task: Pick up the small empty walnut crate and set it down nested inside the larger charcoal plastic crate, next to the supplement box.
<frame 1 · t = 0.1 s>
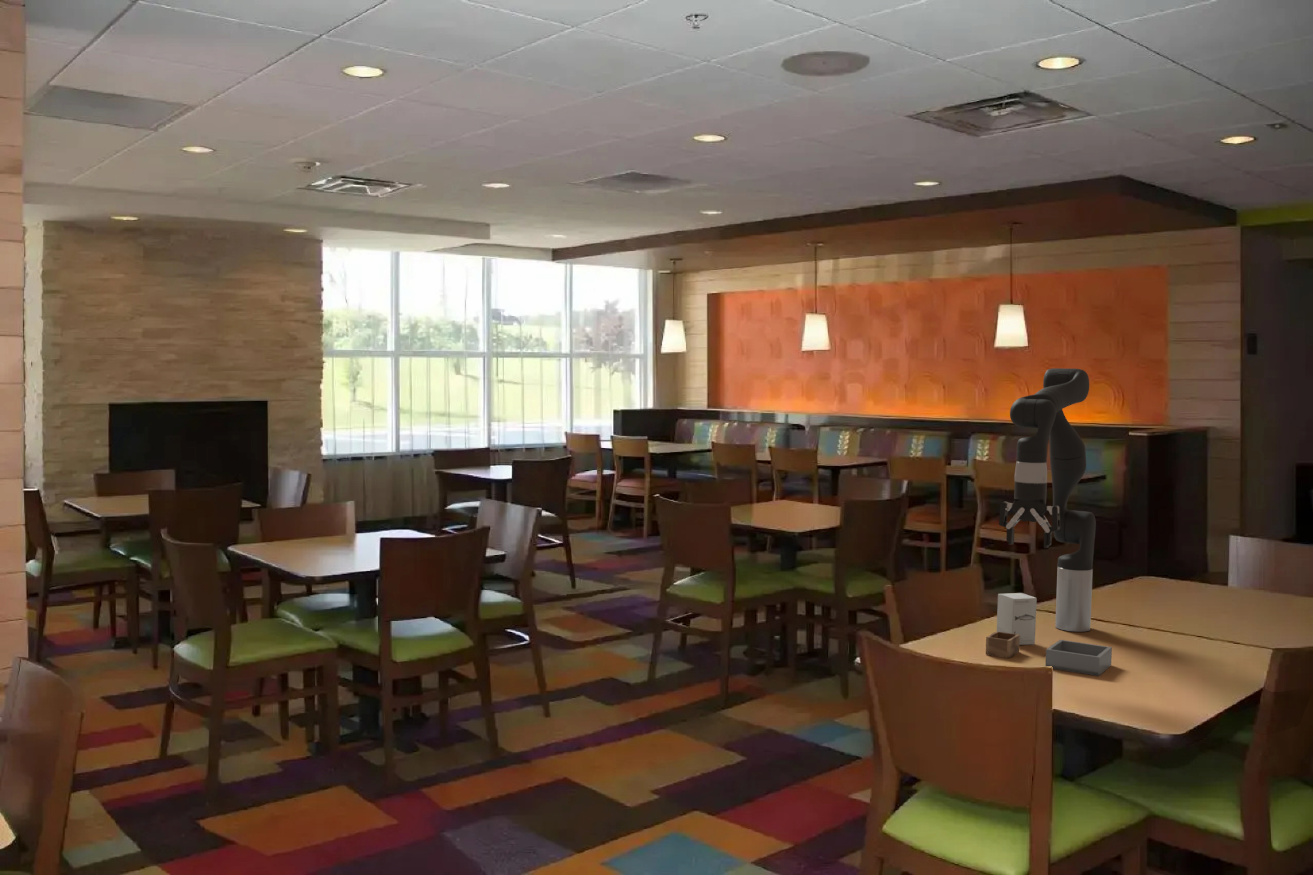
hand: (1028, 545, 274), 29 cm above the table, tool pointing down, fingers open, 8 cm apart
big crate: (1078, 666, 272), on the table
small crate: (1002, 653, 284), on the table
supplement box: (1015, 643, 296), on the table
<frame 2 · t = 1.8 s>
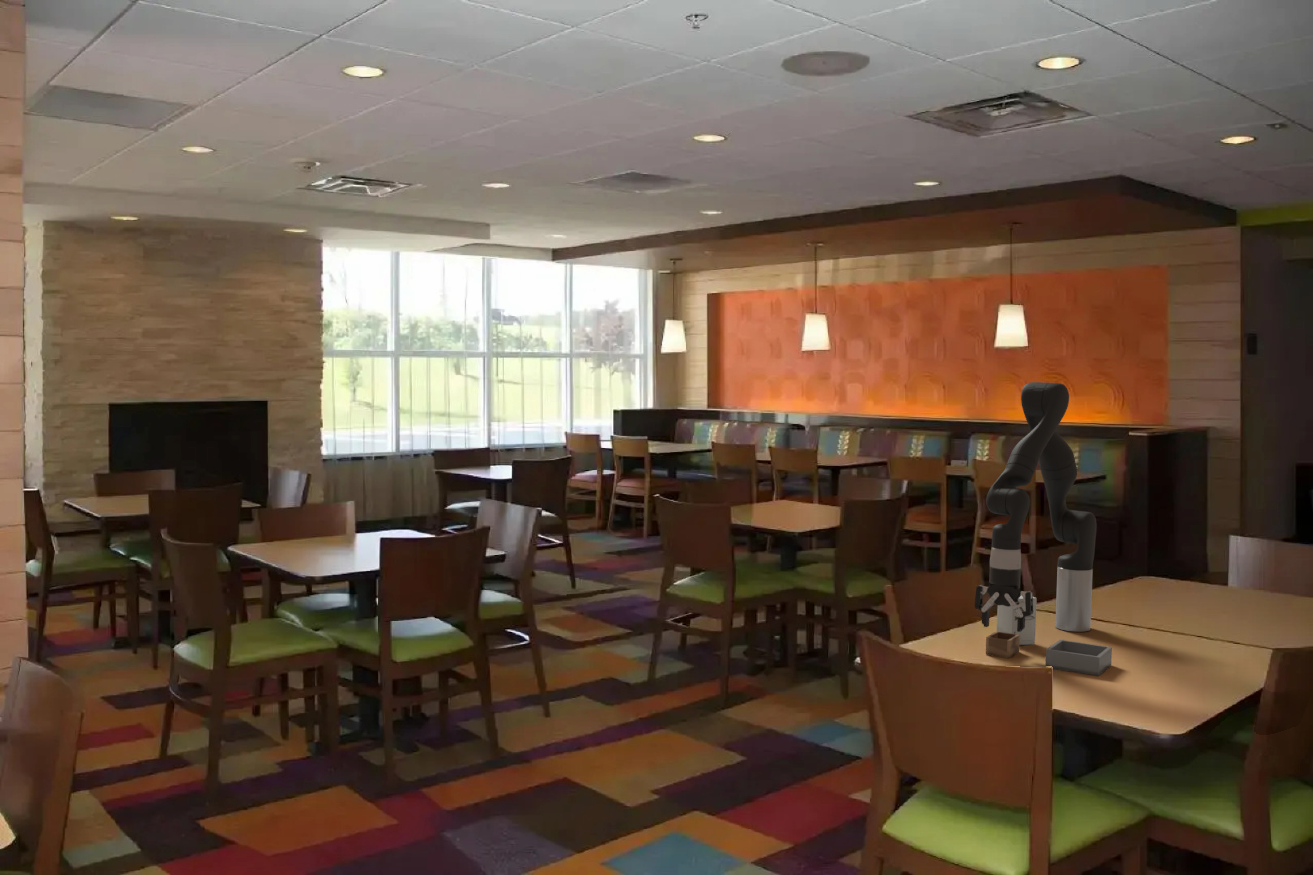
hand: (1002, 628, 283), 6 cm above the table, tool pointing down, fingers open, 8 cm apart
nothing on the table moved.
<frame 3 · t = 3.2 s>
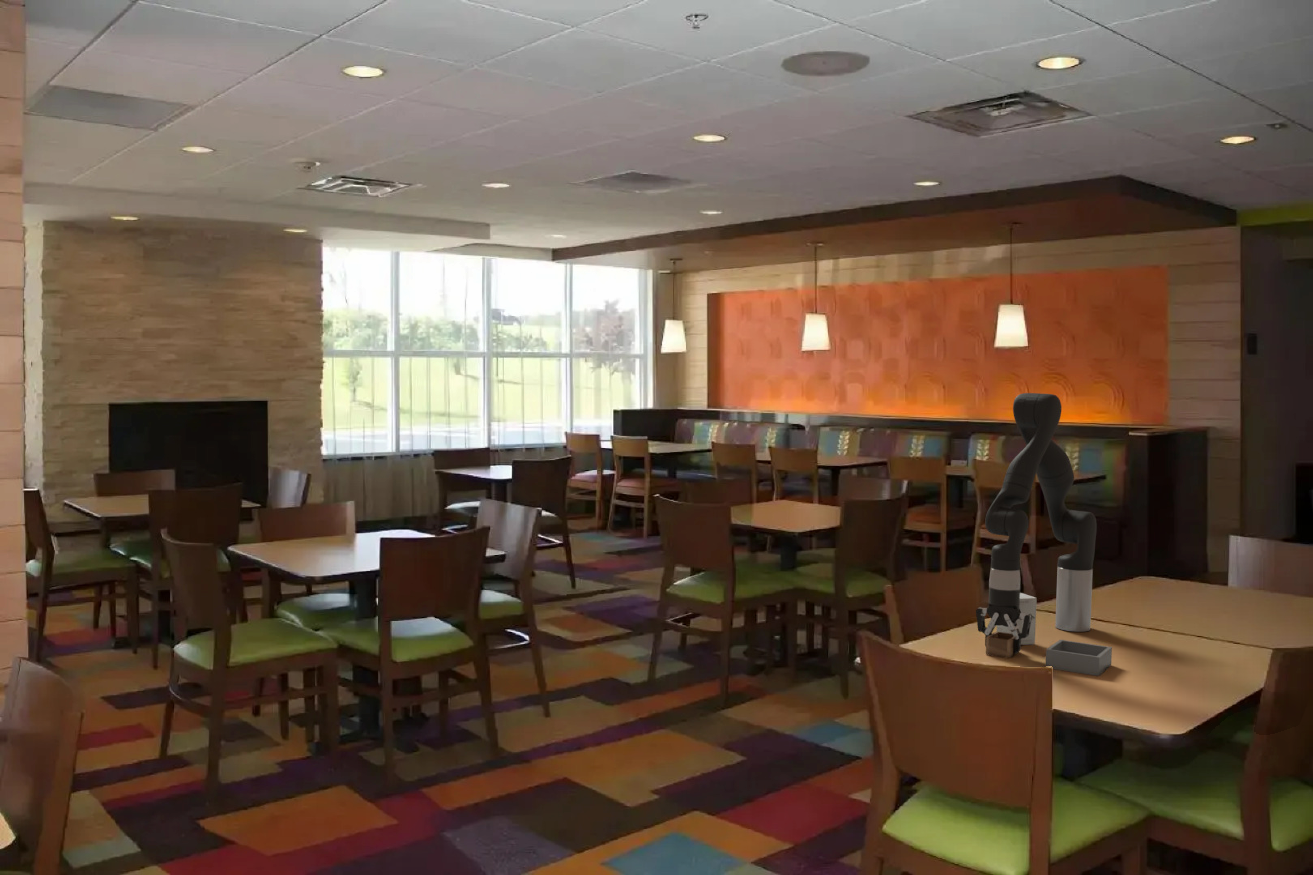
hand: (1002, 651, 284), 1 cm above the table, tool pointing down, fingers closed on small crate, 6 cm apart
small crate: (1002, 653, 284), on the table, touching gripper
everything else where it was.
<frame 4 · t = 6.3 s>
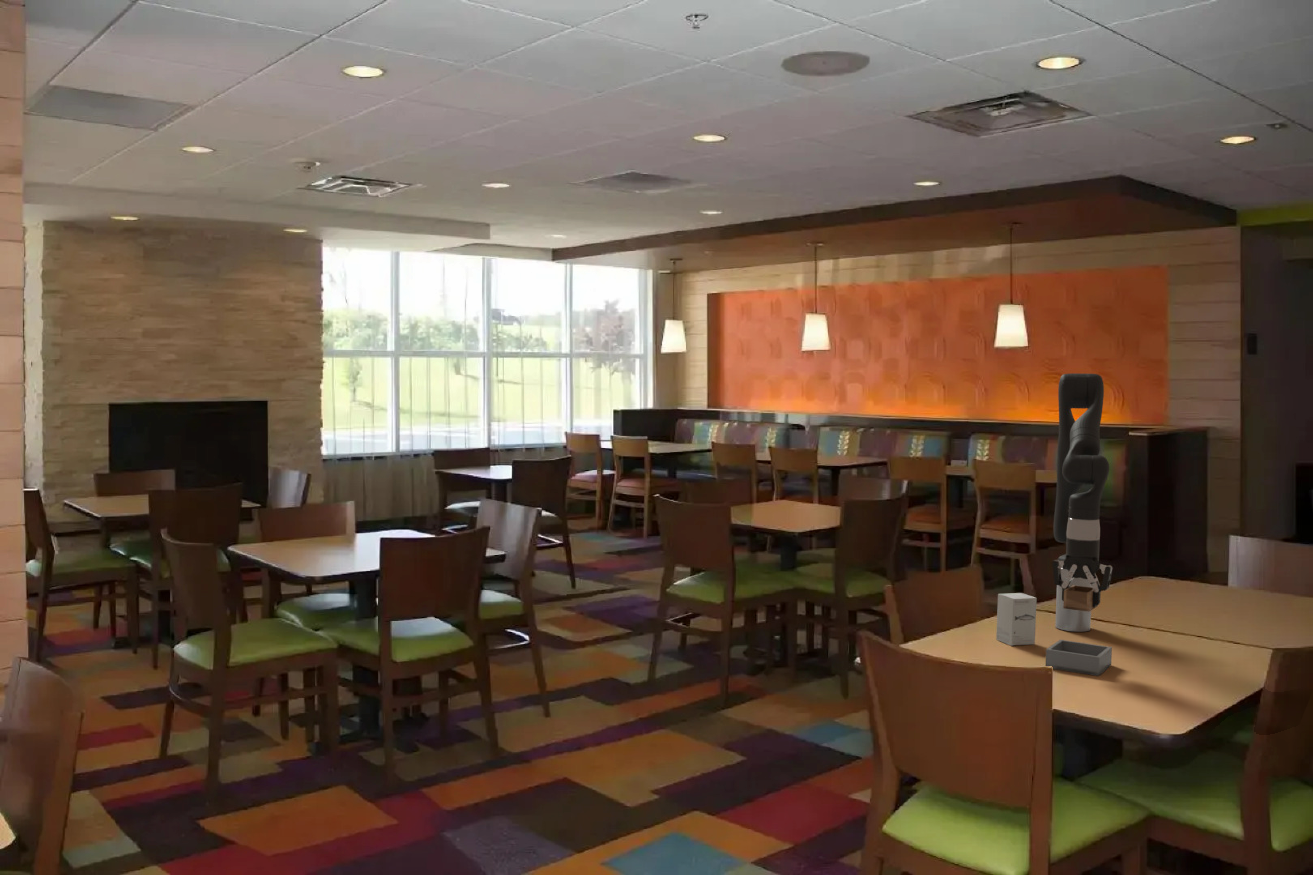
hand: (1080, 604, 271), 15 cm above the table, tool pointing down, fingers closed on small crate, 6 cm apart
small crate: (1080, 607, 271), point 15 cm above the table, touching gripper
everything else where it was.
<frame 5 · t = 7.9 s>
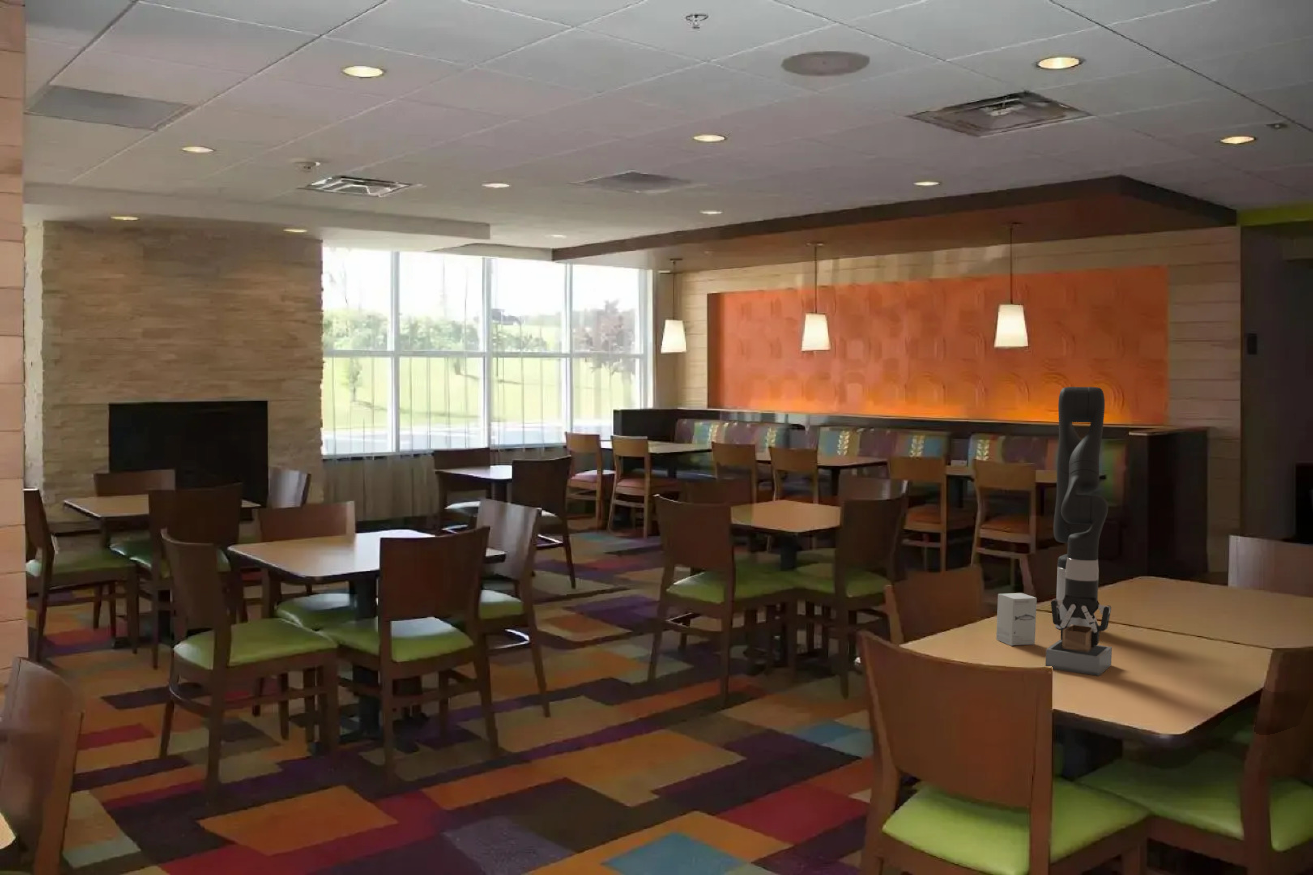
hand: (1079, 644, 272), 5 cm above the table, tool pointing down, fingers closed on small crate, 6 cm apart
small crate: (1079, 647, 272), point 5 cm above the table, touching gripper
everything else where it was.
when the fingers open (3 cm above the table, at t = 9.4 s): small crate drops 2 cm, resting on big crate.
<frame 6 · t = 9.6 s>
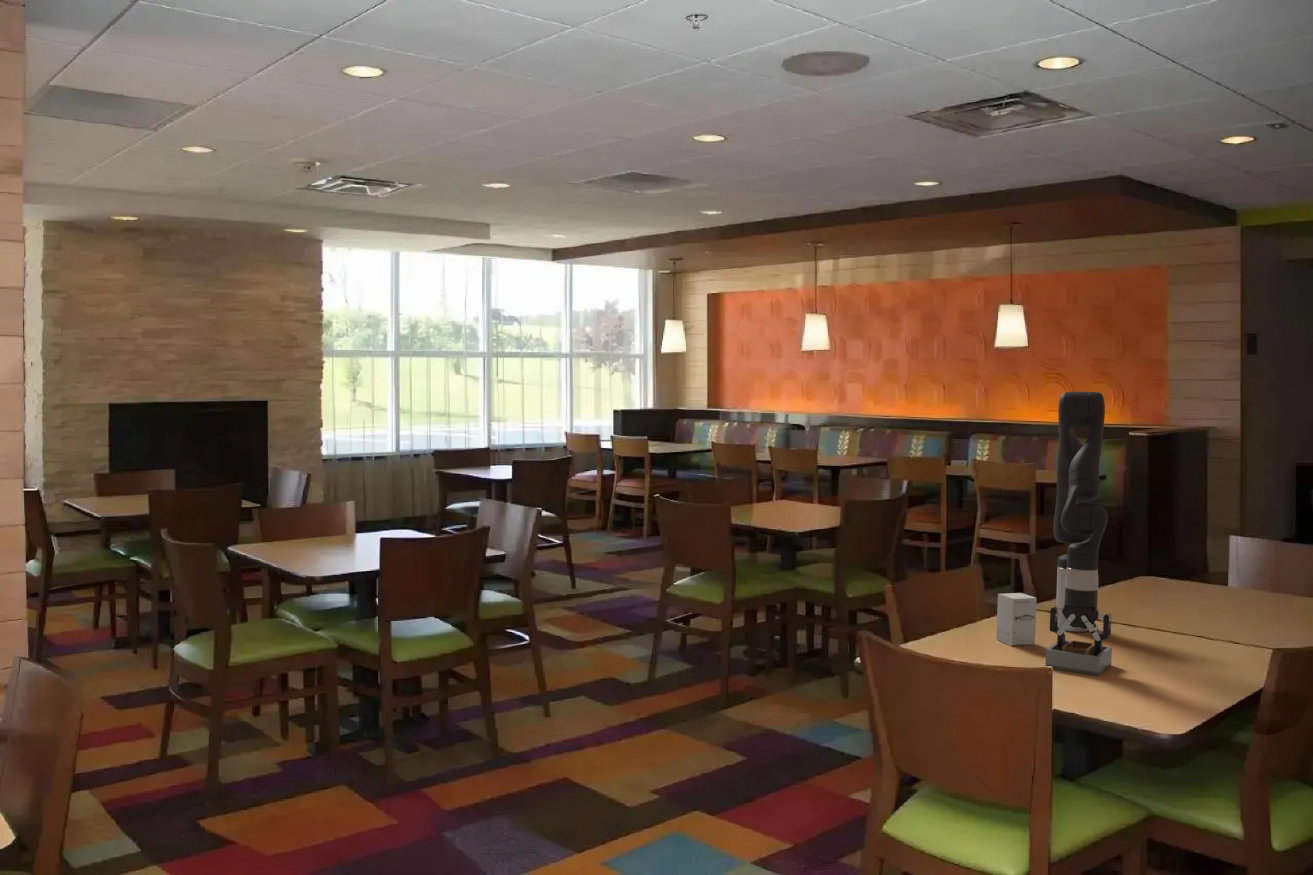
hand: (1079, 652, 272), 3 cm above the table, tool pointing down, fingers open, 7 cm apart
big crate: (1078, 666, 272), on the table, touching small crate
small crate: (1078, 663, 272), point 1 cm above the table, touching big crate
everything else where it was.
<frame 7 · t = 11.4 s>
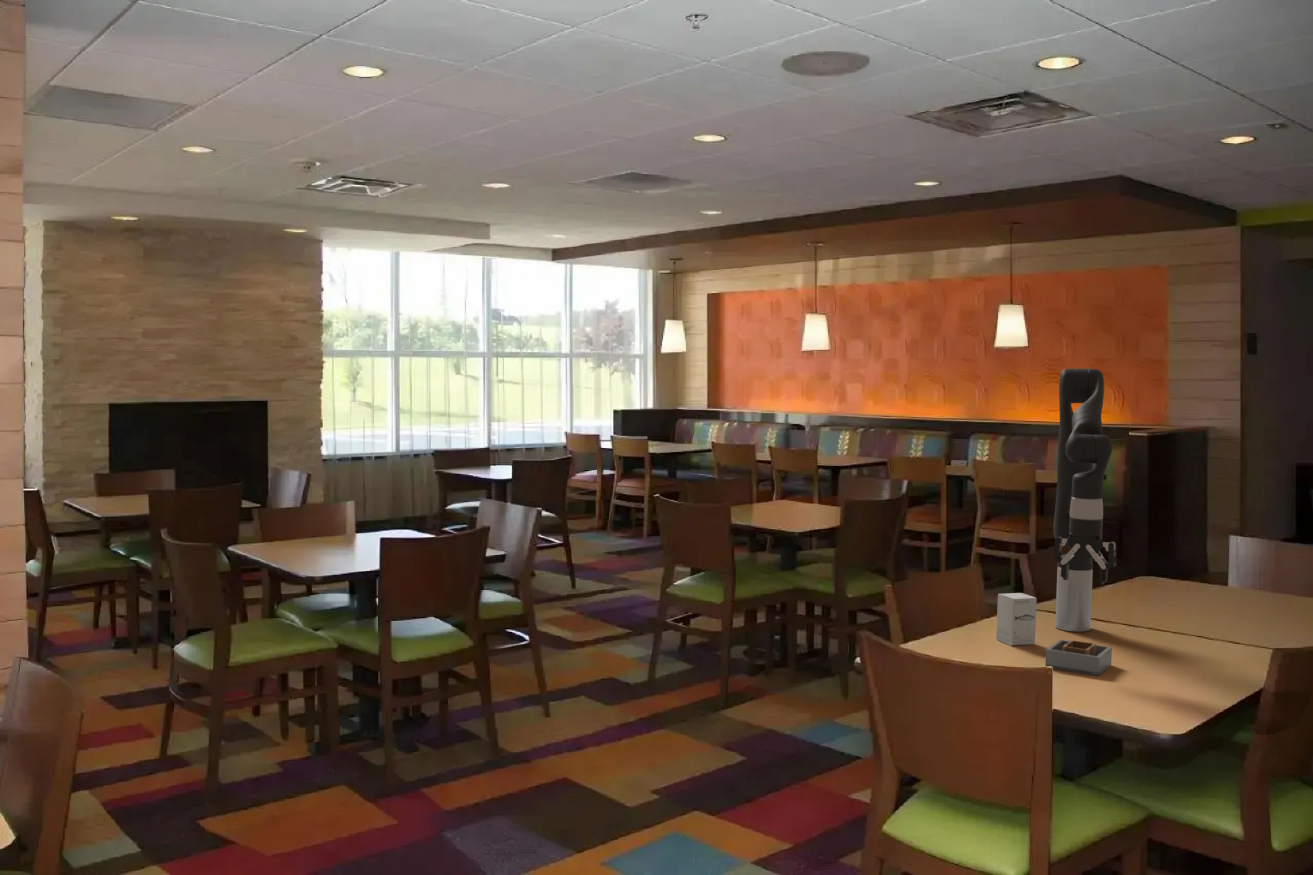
hand: (1083, 581, 272), 21 cm above the table, tool pointing down, fingers open, 8 cm apart
nothing on the table moved.
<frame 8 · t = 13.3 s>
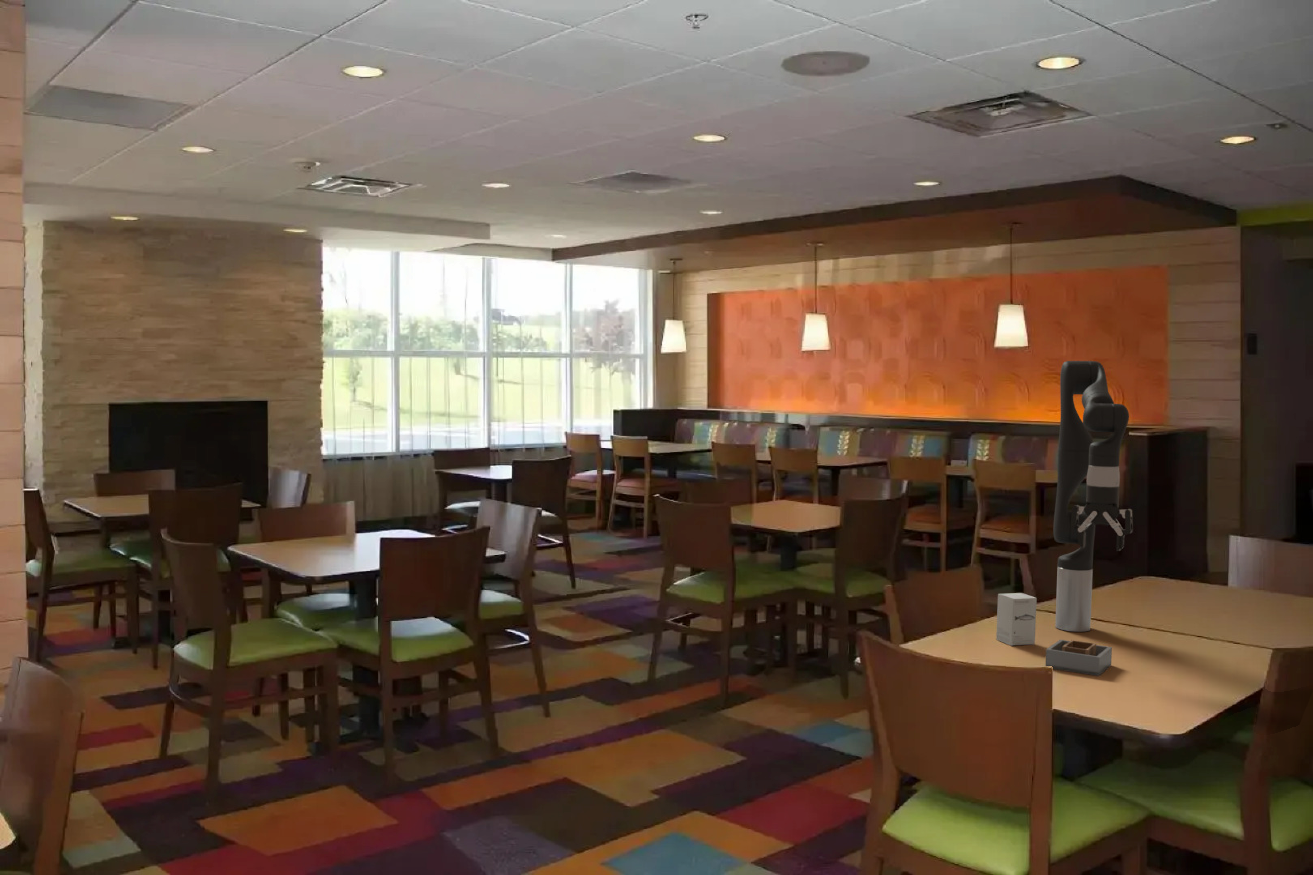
hand: (1100, 548, 277), 28 cm above the table, tool pointing down, fingers open, 8 cm apart
nothing on the table moved.
at the end: small crate 0.0 cm off-centre on the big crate, point 0.8 cm above the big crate's base; small crate tilted 0°; the gripper is holding nothing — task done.
